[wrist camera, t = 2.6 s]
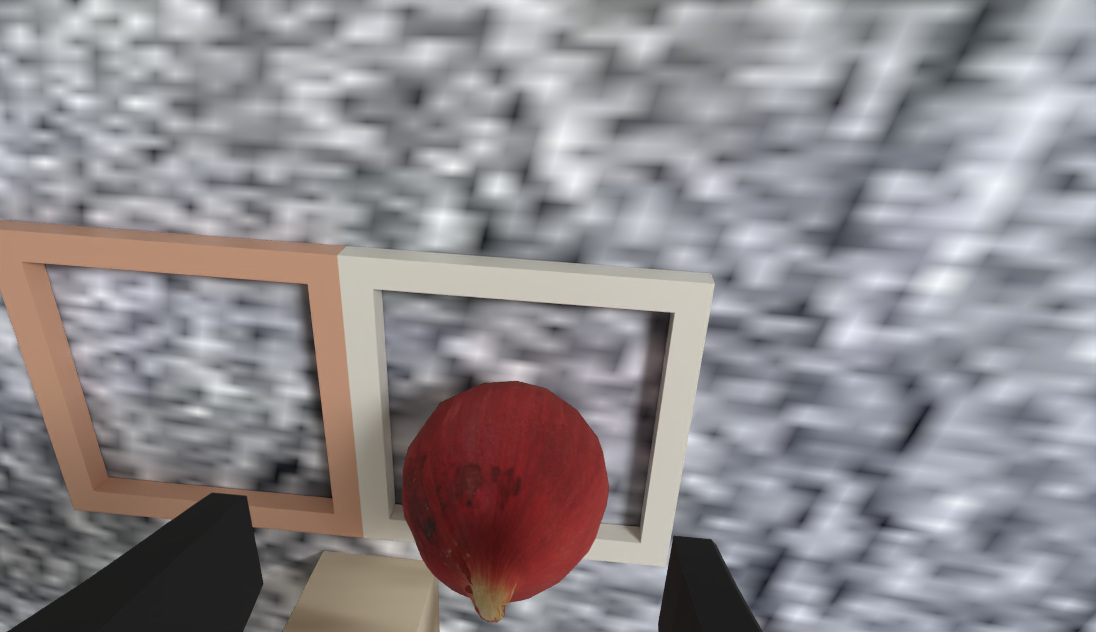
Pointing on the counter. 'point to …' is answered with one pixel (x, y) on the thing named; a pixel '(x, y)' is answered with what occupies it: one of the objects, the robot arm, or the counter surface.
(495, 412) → the onion
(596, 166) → the counter surface
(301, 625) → the birch block
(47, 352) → the terracotta frame
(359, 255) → the cream frame
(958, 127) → the counter surface
